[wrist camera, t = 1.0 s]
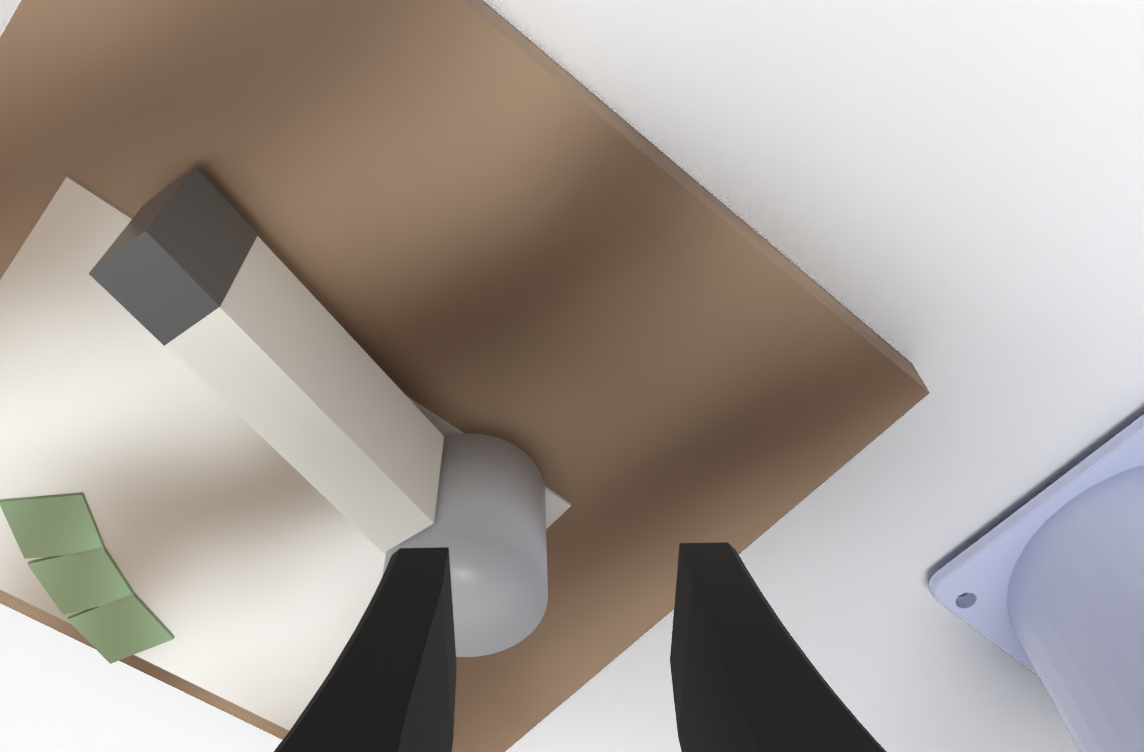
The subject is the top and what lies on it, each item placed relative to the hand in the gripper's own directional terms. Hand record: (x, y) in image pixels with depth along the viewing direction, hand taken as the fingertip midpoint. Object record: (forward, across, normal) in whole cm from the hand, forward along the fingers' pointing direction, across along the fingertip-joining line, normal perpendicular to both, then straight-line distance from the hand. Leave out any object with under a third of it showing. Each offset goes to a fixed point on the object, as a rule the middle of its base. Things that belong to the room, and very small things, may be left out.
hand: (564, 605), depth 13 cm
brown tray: (+10, +4, +3) cm, 11 cm away
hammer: (+8, +4, +2) cm, 9 cm away
